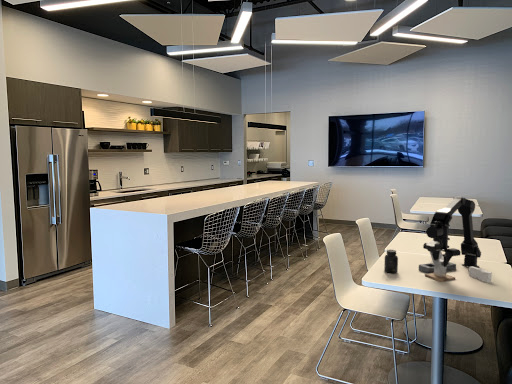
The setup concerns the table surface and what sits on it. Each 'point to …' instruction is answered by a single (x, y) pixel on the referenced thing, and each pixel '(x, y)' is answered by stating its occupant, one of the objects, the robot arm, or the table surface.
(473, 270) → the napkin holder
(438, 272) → the steel plug
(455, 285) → the table surface
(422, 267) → the grey cinder block
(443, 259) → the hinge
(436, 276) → the walnut pad
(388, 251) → the supplement bottle
